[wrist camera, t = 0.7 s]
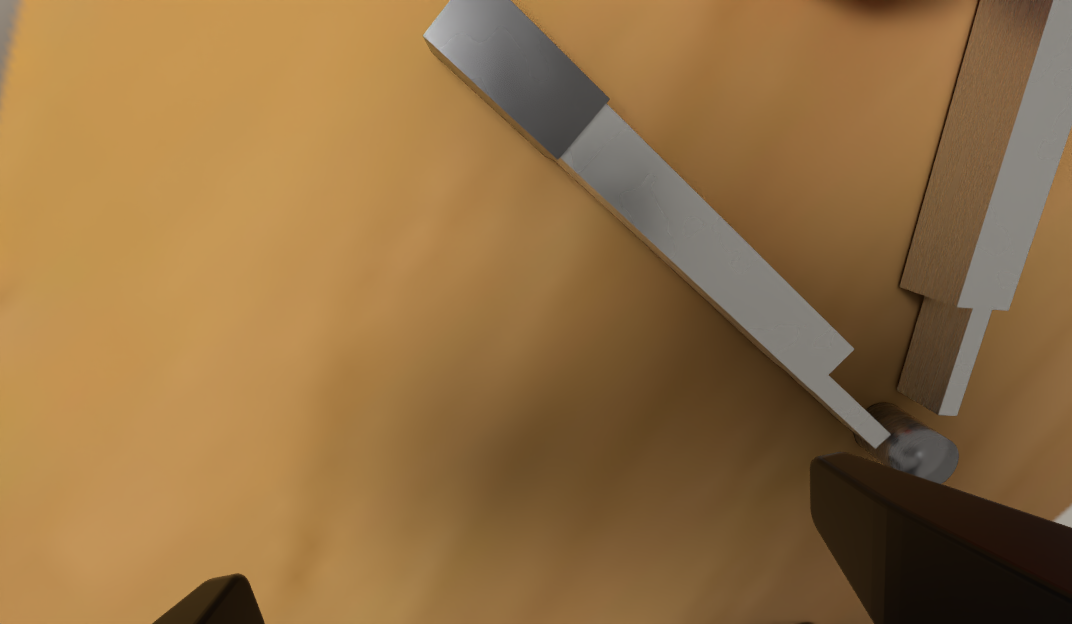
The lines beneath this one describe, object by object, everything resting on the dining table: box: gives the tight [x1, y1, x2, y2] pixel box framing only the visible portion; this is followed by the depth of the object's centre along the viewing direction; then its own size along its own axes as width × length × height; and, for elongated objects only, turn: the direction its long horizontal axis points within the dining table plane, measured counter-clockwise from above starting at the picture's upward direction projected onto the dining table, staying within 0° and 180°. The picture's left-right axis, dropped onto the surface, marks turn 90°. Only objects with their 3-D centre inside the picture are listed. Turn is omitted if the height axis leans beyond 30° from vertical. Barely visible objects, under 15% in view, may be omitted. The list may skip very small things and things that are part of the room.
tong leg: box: [423, 0, 891, 449], centre depth 17 cm, size 19×2×3 cm, turn 49°
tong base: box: [854, 0, 1072, 484], centre depth 18 cm, size 22×2×3 cm, turn 175°
